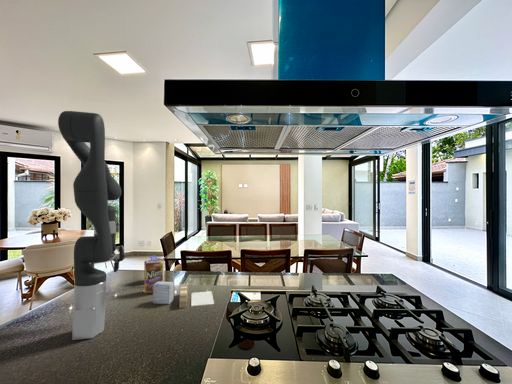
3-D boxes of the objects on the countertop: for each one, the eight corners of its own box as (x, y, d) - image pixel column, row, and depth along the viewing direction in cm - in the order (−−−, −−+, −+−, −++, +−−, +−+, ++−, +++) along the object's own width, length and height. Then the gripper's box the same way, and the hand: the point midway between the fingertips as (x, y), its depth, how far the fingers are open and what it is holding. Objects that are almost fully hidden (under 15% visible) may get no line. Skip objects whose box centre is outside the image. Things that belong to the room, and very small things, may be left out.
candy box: (143, 293, 121) (144, 262, 122) (146, 290, 126) (147, 260, 126) (162, 293, 123) (163, 262, 123) (164, 290, 127) (165, 260, 128)
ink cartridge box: (158, 278, 147) (159, 253, 148) (164, 279, 144) (164, 255, 145) (143, 282, 139) (144, 256, 140) (149, 284, 136) (150, 258, 137)
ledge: (186, 307, 106) (186, 295, 106) (179, 307, 105) (179, 296, 106) (187, 294, 121) (187, 283, 122) (181, 294, 121) (181, 284, 121)
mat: (214, 304, 109) (214, 303, 109) (191, 306, 107) (191, 305, 107) (211, 292, 124) (211, 291, 125) (191, 293, 122) (191, 292, 122)
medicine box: (173, 300, 113) (174, 281, 113) (169, 304, 109) (169, 285, 109) (157, 299, 114) (158, 281, 114) (152, 303, 109) (153, 284, 110)
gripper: (80, 233, 93) (79, 276, 93) (121, 233, 97) (120, 274, 96) (89, 231, 100) (87, 270, 100) (126, 230, 104) (125, 268, 104)
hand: (103, 272), depth 98 cm, fingers open, 8 cm apart
